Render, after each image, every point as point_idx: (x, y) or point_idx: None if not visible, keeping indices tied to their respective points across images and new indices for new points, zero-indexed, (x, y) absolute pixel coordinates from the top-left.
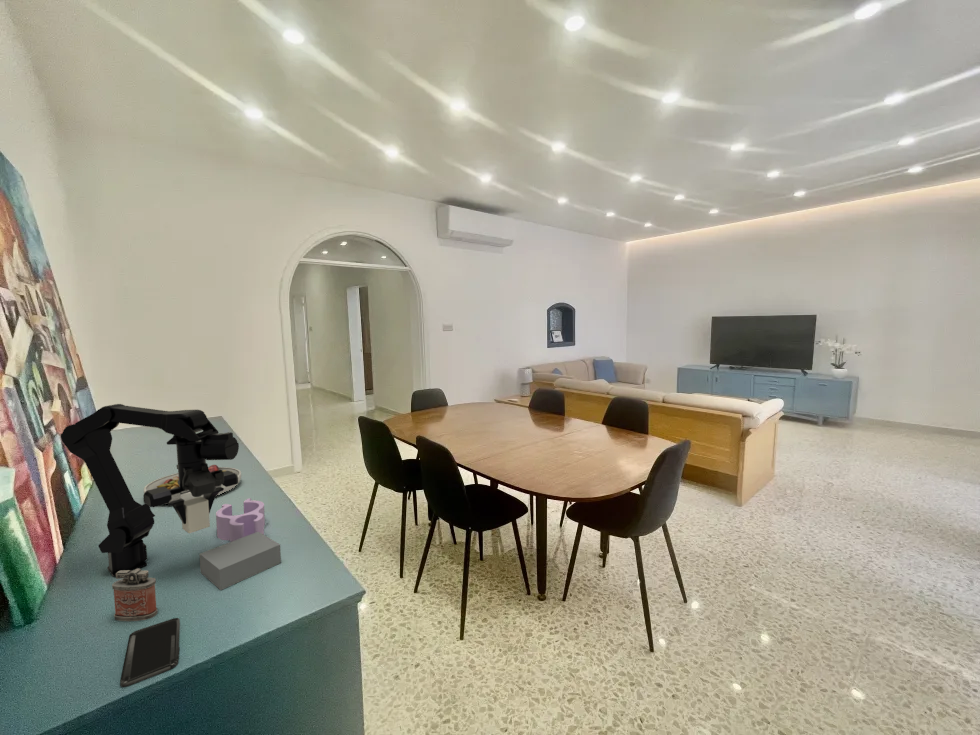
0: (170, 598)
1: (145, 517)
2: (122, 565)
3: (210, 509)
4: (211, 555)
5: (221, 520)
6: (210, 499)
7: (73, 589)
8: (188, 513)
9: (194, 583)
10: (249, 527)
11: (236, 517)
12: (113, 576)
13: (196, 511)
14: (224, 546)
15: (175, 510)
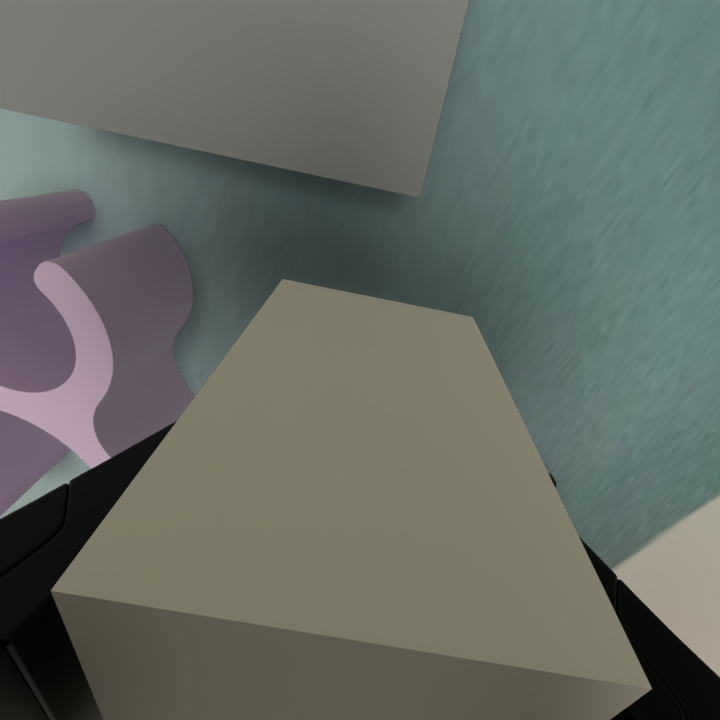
0: (657, 54)
1: None
2: None
3: (166, 429)
4: (403, 60)
5: None
6: (7, 595)
7: (638, 509)
8: (544, 487)
9: (499, 92)
10: (50, 330)
11: (55, 406)
12: (554, 480)
13: (404, 456)
14: (269, 118)
15: None
